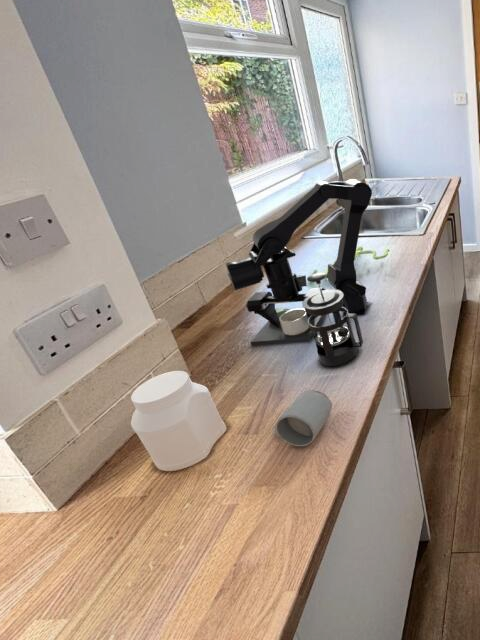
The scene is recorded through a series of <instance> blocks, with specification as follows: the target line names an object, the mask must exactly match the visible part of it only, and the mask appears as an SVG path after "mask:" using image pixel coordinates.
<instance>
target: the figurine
mask: <svg viewBox="0 0 480 640" xmlns="http://www.w3.org/2000/svg"><path fill="white" fill-rule="evenodd" d="M390 251H391V250H390V249H389V248H387V249H385V250H384V252H383V253H384V255H379V256H377V251H376V250H371V249H370V250H369V249H368V250H364V247H363V246H359V247H357V248H356V254H355V260H356V259H357V258H358V257H359V256H361V255H366V254H367V255H368V254H372V258H373V260H381V259H385V258H387V256H389V252H390ZM334 263H335V261H334V262H333V263H331V264H332V265H333V264H334ZM316 273H319V272H318V270H317V269H315V270H313V272H312V274H311V275H313V274H316ZM321 273H326V274H327V273H328V268H326V269H325V270H324V271H322V272H321ZM325 279H327V278H325ZM325 279H324V280H325ZM327 280H328V279H327Z"/></svg>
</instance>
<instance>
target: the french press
mask: <svg viewBox="0 0 480 640" xmlns="http://www.w3.org/2000/svg"><path fill="white" fill-rule="evenodd" d="M312 274H313V273H312ZM312 274H311V275H308V276H307V277H306V281H308V282H309V283H315V284H316V285H318V288H319V289H320V291H319V292H316V293H314V294H312V295H310V296H308V297H307V298H306V299H305V300H304V301H302V308H303V309H306V310H307V312H308V314H310V315H311V316H310V317H309V319H308V324H309V327H310V329H311V330H312V334H313V336H312V338H313V340H314V343H315V347H316V352H317V356H318V362H319V365H320V366H321V367H323V368H325V369H333V370H334V369H338V368H342V367H345V366H348V365H349V364H351V363H352V362H354V361H355V360H356V359H357V358H358V356H359V353H360V349H359V348H361V347H362V346H363V344H364V339H363V335H362V331H361V327H360V322H359V318H358V315H357V314H356V313H353V314H349V313H348V310H347V309H346V308H344V307H342V306H343V297H344V294H343V292H342V291H340V290H335V289H334V288H331V289H325V290H323V291H322V290H321V288H322V287H321V284H322V282H321V281H323V280H325V278H326V277H327V274H326V273H322V272H317V273H316V274H313V275H312ZM341 312H342V313H343V312H345V313H347V315H346V316H343V318H342V316H341ZM331 314H332V317H333V321H334V323H332V322H331V318H330V315H331ZM323 315H326V316H327V320H328V323H329V325H324V326H319V327H316V326H315V325H314V321H313V320H314V319H315V318H317V317H318V316H323ZM350 319H352V320H353V322H354V327H355V330H356V334H357V339H358V341H357V340H356V338H355V336H354V331H353V328H352V327H353V326H352V324H351V320H350ZM345 324H346V325H345ZM339 348H350V349H348V350H347V351H345V352H343V353H340V354H338V355H335V353H334V350H336V349H339Z"/></svg>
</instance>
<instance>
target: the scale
mask: <svg viewBox="0 0 480 640" xmlns="http://www.w3.org/2000/svg"><path fill="white" fill-rule="evenodd" d="M284 309H285V312H287V311H290V310H291V309H290V308H284ZM326 316H327V315H323V316H318V317H317V318H315V324H314V325H315V326H316V327H320V325H321V324H322V322H323V321H324V319H325V317H326ZM312 338H313V334H312V330H311V329H310V327H309V328H308V329H307V330H306V331H305V332H303V333H301V334H298V335H287V334H285V333H284V332H283V330H282V327H280V328H277V327H276V326H274V325H273V324H272V323H271V322H269V321H268V320H267V322H266V323H265V324H264V325H263V326H262V327H261V329H260V330H259V331H258V332H257V334H255V336H254V337H253V338H252V339H251V341H250V345H251V347H257V346H258V347H260V346H272V345H284V344H296V343H307V342H308V343H309V342H310V341H311V340H312Z"/></svg>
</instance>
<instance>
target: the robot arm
mask: <svg viewBox="0 0 480 640" xmlns="http://www.w3.org/2000/svg"><path fill="white" fill-rule="evenodd" d="M372 196H373V190H372V187H371V186H370V185H369V184H368V183H365V182H364V181H361V180H358V179H356V178H350V179H347V180H345V181H323V180H322V181H321V180H320V181H318V182H317V183H315V185H314V187H312V188H311V189H310V190H309V191H308V192H307V193H305V194H304V195H303V197H301V198H300V199H299V200H298V201H297V202H296V203H295V204H294V205H293V206H291V207H290V208H289V209H288V210H287V211H286V212H285V213H283V214H282V216H280V217H278V218H277V219H275V220H272V221H270V222H268V223H266V224H264V225H262V226H261V227H259V228H258V229H256V230H255V232H254V233H253V235H252V241H253V244H252V246H251V248H250V250H249V253H248V256H249V257H247V258H244V259H239V260H236V261H229V262H226V263H225V267H226V269H227V270H226V271H227V272H228V273H227V275H228V278H229V280H230V283H231V285H232V287H233V289H234V291H238V290H241V289H245V288H247V287H251V286H253V285H257V284H260V283H262V281H263V280H264V279H263V278H265V276H266V279H267V282H268V283H267V284H266V285H265V286H266V288H267V289H270V291H259V292H255V293H254V294H253V295H252V296H251V297H250V298H249V299H248V300H247V301H246V304H245V305H246V309H247V311H248V312H249V313H252V312H253V314H255V315H259V316H260V317H261V318H264V319H265V320H266V321H267V322H268V321H269V322H271V323H272V324H273V325H274V326H276V327H277V328H280V327H281V324H280V321H279V317H278V315H277V312H276V304H287V303H298V302H299V303H300V302H303V301H304V300H305V299H306V298H307V297H308V296H310V295H312V294H314V293H316V292H319V291H320V289H319V287H313V288H312V287H311V288H309V289H308V291H306V292H305V293H300V292H302V291H303V287H307V286H308V284H307V276H306V274H301V275H298V274H296V273H293V271H292V267H291V264H290V261H289V259H290V258H293V257H295V256H296V253H295V252H294V251H293V250H292V249H289V248H287V247H286V246H287V245H288V244H289V242H290V241H291V238H292V236H293V235H294V233H295V232H296V230H297V229H298V228H299V227H300V226H302V225H303V223H305V222H306V221H307V220H309V218H310V217H311V216H312V215H313V214H314V213H315V212H316V211H317V210H318V209H320V208H321V207H322V206H324V204H325V203H326V202H327V201H328V200H330V199H331V200H332V199H334V200H342V205H343V211H344V214H343V219H342V226H341V232H340V237H339V245H338V249H337V255H336V260H335V261H334V262H335V263H334V262H333V263H334V264H333V263H328V264H327V269H328V273H327V277H326V278H327V282H328V284H329V285H330V286H331V288H332V289H335V290H340V291H342V292H343V294H344V297H343V306H342V307H344V308H346V309H347V310H348V313H349V314H353V313H356V314H357V316H364V315H365V314H366V312H367V310H368V308H369V306H370V305H371V304H370V301H368V299H367V296H366V294H367V293H366V292H367V287H366V286H364V285H363V284H362V282H360V281H359V280H358V279H357V270H356V266H355V260H356V259H355V254H356V250H357V248H358V242H359V236H360V231H361V225H362V224H361V223H362V219H363V215H364V212H365V211H366V210H367V208H368V207H369V204H370V202H371V198H372ZM332 264H333V265H332ZM262 267H263V269H262ZM263 270H264V271H263ZM264 272H265V275H264ZM321 290H322V291H323V290H326V288H324V287H321ZM304 309H305V308H304ZM305 311H306V314H307V316H308V319H309V317H310V316H311V315H310V314H308V312H307V310H306V309H305ZM341 315H342V317H345V316H346V315H347V313H345V312H342V314H341ZM313 321H314V324H315V319H314V320H313Z"/></svg>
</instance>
